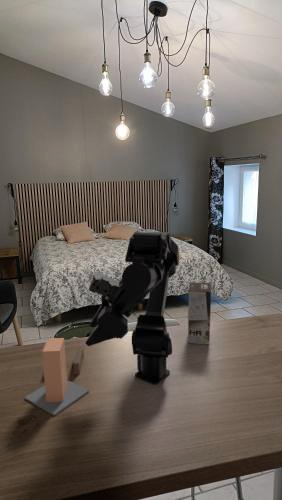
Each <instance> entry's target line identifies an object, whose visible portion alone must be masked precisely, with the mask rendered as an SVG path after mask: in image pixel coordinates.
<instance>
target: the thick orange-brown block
mask: <svg viewBox="0 0 282 500" xmlns="http://www.w3.org/2000/svg"><path fill="white" fill-rule="evenodd" d="M65 345H66V344H65V338H64V337H59V338H58V337H54V338H50V337H49V338H47V340H46V342H45V345H44V347H43V348H42V350H41V351H42V353H41V354H42V364H43V378H44V385H45V391H46V402H63V400H64V397H65V393H66V389H67V380H68V374H67V364H66V363H67V360H66V359H67V358H66V347H65Z"/></svg>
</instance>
